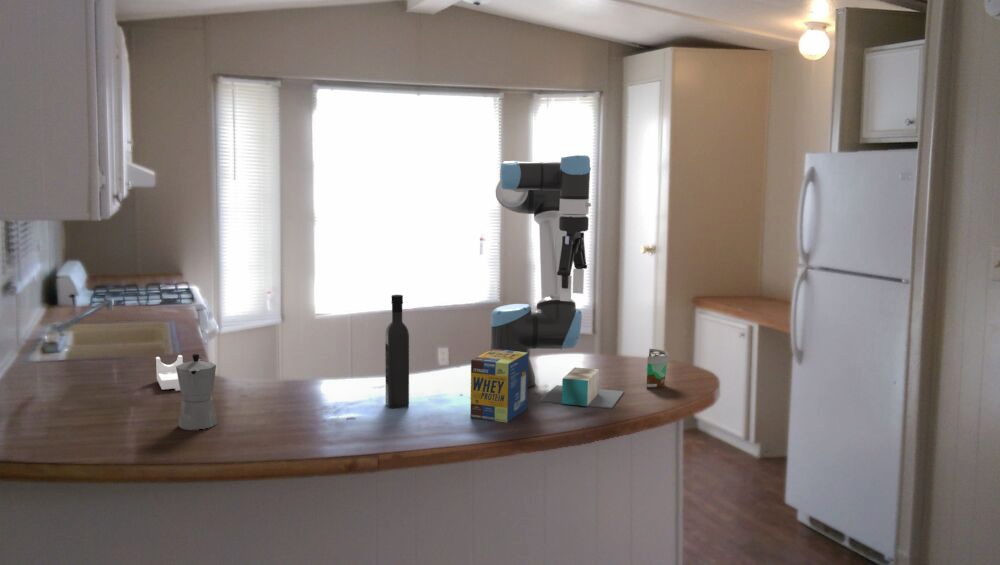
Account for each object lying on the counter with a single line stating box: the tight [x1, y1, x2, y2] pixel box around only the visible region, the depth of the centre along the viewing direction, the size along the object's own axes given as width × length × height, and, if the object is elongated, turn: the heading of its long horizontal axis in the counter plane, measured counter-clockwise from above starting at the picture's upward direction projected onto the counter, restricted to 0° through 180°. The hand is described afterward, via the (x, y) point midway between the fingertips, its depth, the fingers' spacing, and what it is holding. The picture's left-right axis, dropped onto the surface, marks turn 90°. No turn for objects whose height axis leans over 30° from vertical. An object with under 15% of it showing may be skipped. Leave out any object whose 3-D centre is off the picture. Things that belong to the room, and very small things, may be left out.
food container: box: [646, 348, 670, 390], centre depth 273 cm, size 12×6×10 cm, turn 168°
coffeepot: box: [176, 353, 218, 431], centre depth 228 cm, size 15×9×18 cm, turn 13°
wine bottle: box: [384, 294, 410, 409], centre depth 246 cm, size 6×6×30 cm
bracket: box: [155, 354, 184, 392], centre depth 266 cm, size 13×7×8 cm, turn 26°
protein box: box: [470, 348, 528, 424], centre depth 242 cm, size 10×15×16 cm
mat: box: [539, 384, 625, 410], centre depth 260 cm, size 20×18×1 cm
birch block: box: [561, 367, 600, 407], centre depth 256 cm, size 7×7×14 cm
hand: (571, 297), depth 241 cm, fingers open, 13 cm apart
